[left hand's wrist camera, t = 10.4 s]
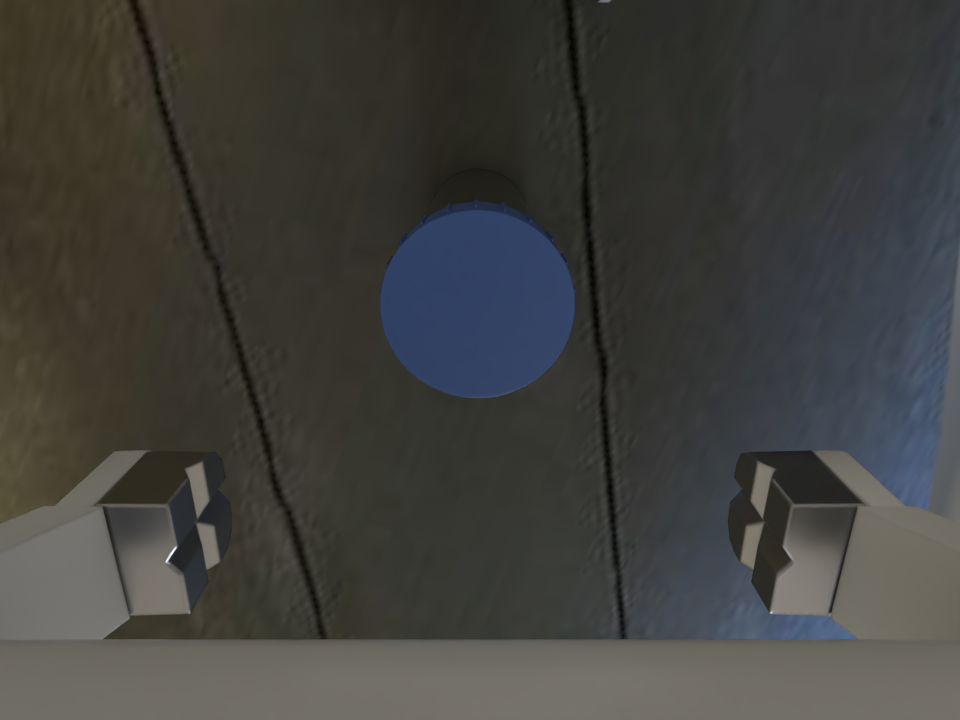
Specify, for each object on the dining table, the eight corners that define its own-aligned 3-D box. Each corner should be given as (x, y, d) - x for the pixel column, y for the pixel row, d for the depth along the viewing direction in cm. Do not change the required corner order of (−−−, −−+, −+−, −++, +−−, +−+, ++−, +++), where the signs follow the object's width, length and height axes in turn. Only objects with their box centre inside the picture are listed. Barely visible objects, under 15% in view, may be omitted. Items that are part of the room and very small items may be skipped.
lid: (426, 167, 20) (421, 172, 18) (601, 246, 21) (613, 258, 19) (359, 337, 22) (349, 357, 20) (522, 402, 23) (525, 427, 21)
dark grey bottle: (452, 152, 35) (429, 185, 19) (542, 193, 36) (596, 260, 19) (415, 243, 37) (364, 347, 20) (502, 281, 38) (520, 410, 21)
